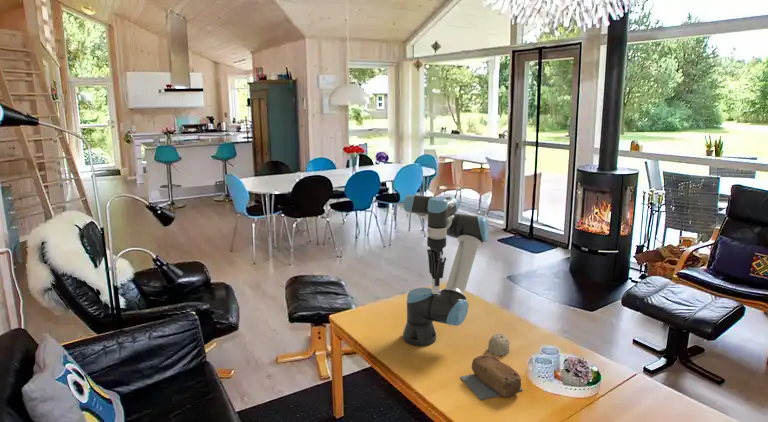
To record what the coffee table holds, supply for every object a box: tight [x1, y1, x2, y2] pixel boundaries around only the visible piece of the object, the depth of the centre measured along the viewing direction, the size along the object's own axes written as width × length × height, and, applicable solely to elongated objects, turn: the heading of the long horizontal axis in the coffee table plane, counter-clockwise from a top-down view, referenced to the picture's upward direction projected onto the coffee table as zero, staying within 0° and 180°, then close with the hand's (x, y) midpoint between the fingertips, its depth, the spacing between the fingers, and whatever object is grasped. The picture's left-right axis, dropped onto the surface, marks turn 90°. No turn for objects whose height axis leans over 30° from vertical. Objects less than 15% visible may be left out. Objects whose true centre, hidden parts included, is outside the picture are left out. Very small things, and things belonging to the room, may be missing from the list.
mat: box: [459, 373, 523, 401], centre depth 204 cm, size 16×18×1 cm
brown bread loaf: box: [471, 354, 522, 398], centre depth 204 cm, size 11×8×20 cm
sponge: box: [487, 332, 511, 357], centre depth 230 cm, size 9×10×10 cm
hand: (435, 292), depth 215 cm, fingers closed
